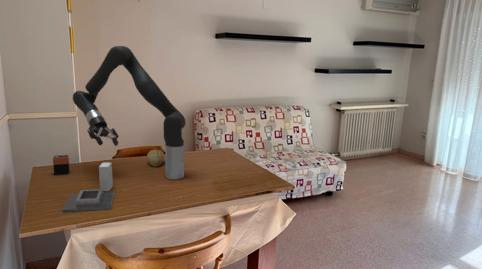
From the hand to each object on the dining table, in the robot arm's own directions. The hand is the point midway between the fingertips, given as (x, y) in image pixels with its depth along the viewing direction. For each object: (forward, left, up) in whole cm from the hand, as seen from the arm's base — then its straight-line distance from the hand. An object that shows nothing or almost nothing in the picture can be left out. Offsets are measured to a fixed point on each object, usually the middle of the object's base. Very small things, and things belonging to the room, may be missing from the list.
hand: (109, 144), depth 165 cm
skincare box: (+1, +9, -19) cm, 21 cm away
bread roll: (-22, -26, -19) cm, 39 cm away
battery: (+25, -15, -19) cm, 35 cm away
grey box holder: (+6, +23, -19) cm, 31 cm away
